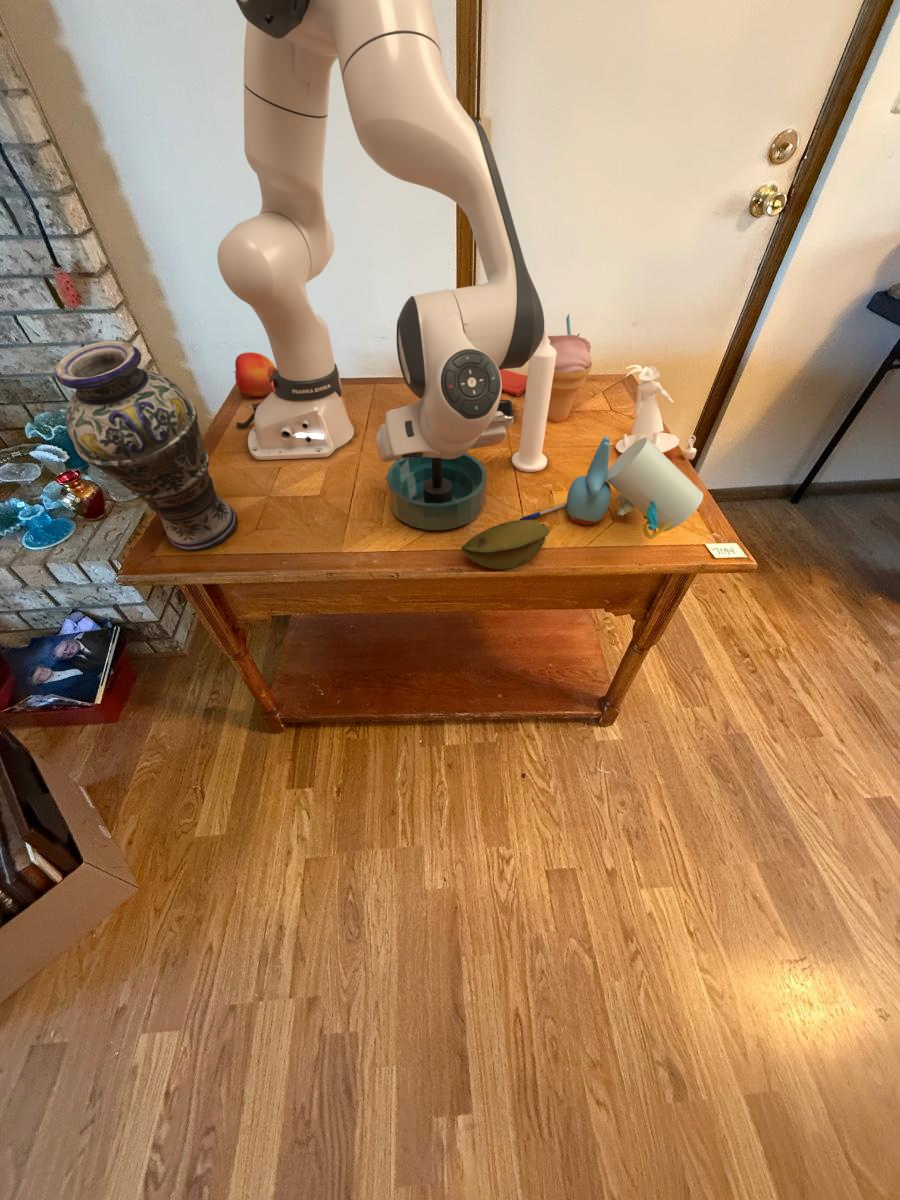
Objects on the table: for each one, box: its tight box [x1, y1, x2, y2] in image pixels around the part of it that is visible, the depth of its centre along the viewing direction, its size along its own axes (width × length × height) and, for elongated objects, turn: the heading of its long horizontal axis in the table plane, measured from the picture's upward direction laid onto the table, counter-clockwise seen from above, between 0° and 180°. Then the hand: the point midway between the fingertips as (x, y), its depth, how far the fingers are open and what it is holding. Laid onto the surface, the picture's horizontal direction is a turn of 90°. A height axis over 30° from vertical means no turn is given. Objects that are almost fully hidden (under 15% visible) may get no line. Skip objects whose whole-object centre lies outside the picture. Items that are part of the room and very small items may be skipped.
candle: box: [511, 329, 557, 473], centre depth 91 cm, size 7×7×25 cm
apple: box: [233, 351, 277, 398], centre depth 117 cm, size 10×10×10 cm
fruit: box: [460, 519, 551, 570], centre depth 79 cm, size 11×12×7 cm
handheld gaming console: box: [499, 369, 527, 397], centre depth 123 cm, size 9×1×15 cm
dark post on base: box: [423, 458, 452, 503], centre depth 84 cm, size 5×5×18 cm
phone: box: [497, 399, 514, 417], centre depth 113 cm, size 8×1×15 cm
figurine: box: [614, 364, 698, 461], centre depth 96 cm, size 16×12×20 cm
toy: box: [566, 436, 612, 525], centre depth 83 cm, size 10×7×15 cm
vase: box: [54, 340, 238, 552], centre depth 74 cm, size 17×17×30 cm
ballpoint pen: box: [519, 502, 567, 520], centre depth 88 cm, size 10×1×1 cm, turn 116°
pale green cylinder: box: [606, 438, 704, 540], centre depth 83 cm, size 20×12×13 cm
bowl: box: [385, 452, 488, 531], centre depth 89 cm, size 18×18×6 cm
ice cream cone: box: [547, 313, 593, 423], centre depth 104 cm, size 11×11×20 cm
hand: (435, 450), depth 84 cm, fingers closed on dark post on base, 2 cm apart
